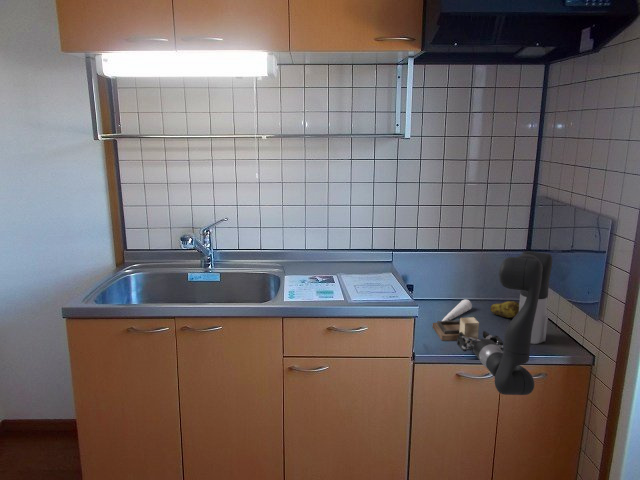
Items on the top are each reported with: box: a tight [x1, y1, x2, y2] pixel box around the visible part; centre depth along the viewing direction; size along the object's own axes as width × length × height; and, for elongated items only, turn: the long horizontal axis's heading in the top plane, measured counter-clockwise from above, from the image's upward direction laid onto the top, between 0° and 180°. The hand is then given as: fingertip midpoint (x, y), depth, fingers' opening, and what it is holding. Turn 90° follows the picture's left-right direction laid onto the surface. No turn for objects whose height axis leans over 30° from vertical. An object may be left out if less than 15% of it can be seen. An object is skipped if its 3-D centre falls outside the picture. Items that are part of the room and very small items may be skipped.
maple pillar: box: [459, 316, 480, 343], centre depth 175 cm, size 5×5×10 cm
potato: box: [489, 300, 519, 318], centre depth 200 cm, size 8×13×8 cm, turn 18°
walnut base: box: [432, 319, 460, 342], centre depth 187 cm, size 12×12×3 cm
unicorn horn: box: [441, 299, 473, 321], centre depth 203 cm, size 5×24×5 cm, turn 133°
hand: (472, 334), depth 172 cm, fingers open, 8 cm apart
